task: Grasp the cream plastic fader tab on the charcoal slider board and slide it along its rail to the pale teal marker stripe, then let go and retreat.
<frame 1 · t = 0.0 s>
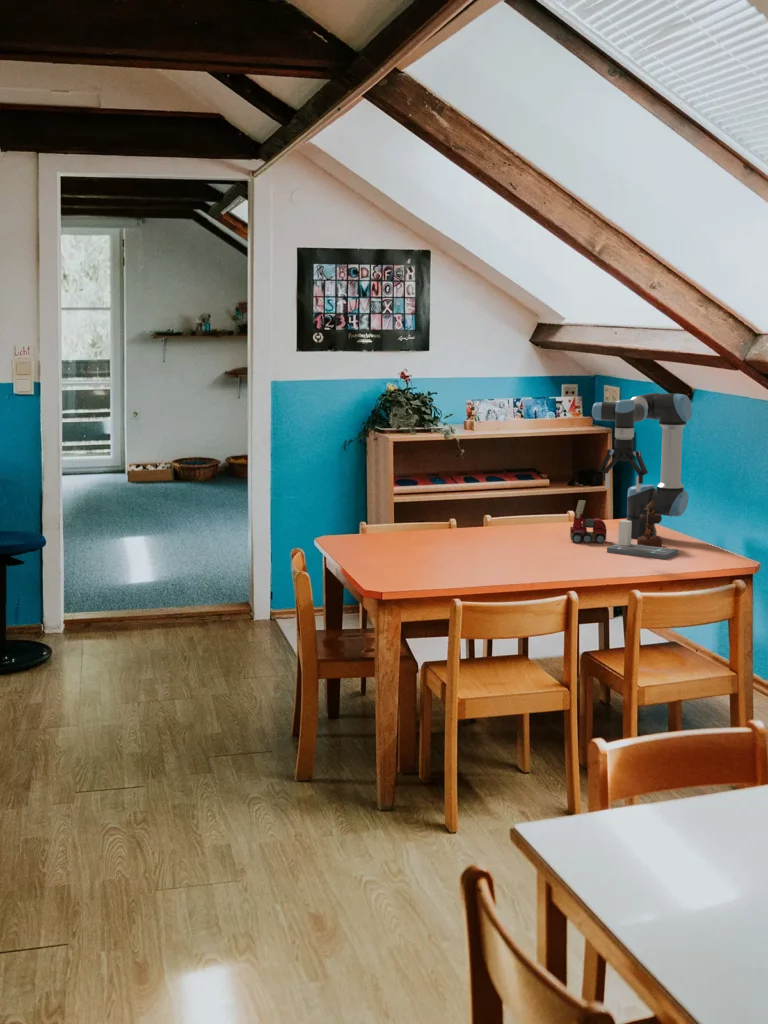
hand: (622, 490, 454), 28 cm above the table, fingers open, 13 cm apart
fader tab: (624, 533, 470), point 8 cm above the table, slide at 1.0 cm
slider board: (642, 553, 467), on the table
brown tall irregular piece: (649, 546, 483), on the table
toy fire truck: (587, 541, 495), on the table
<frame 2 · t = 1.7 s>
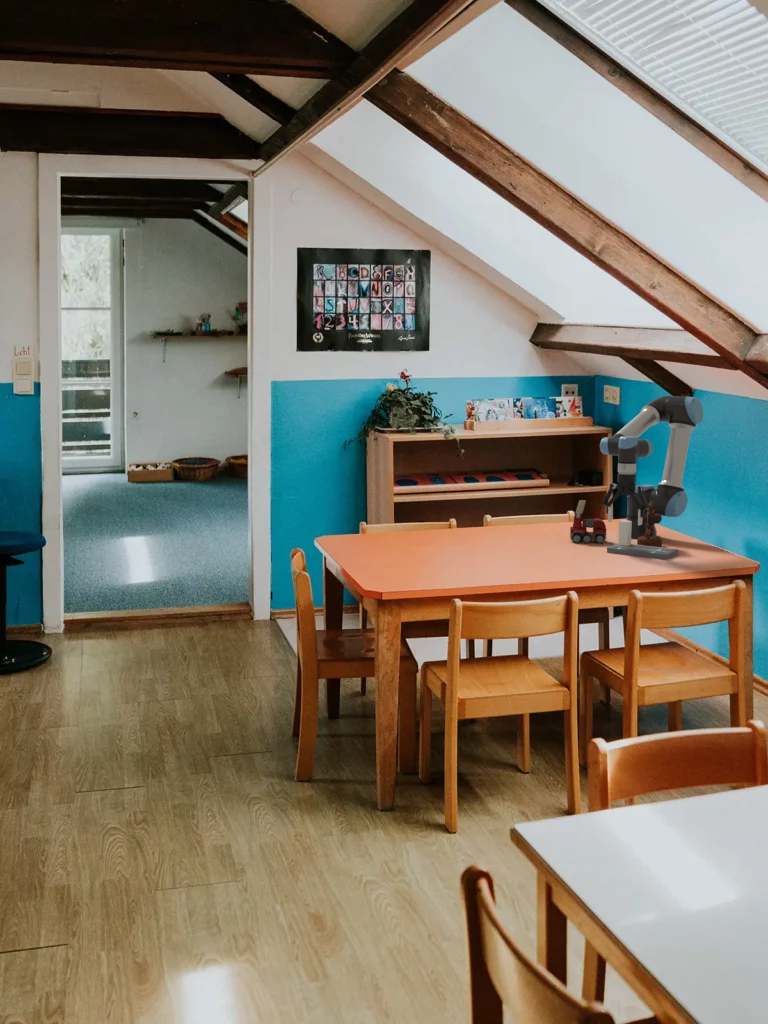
hand: (624, 523, 469), 12 cm above the table, fingers open, 13 cm apart
nothing on the table moved.
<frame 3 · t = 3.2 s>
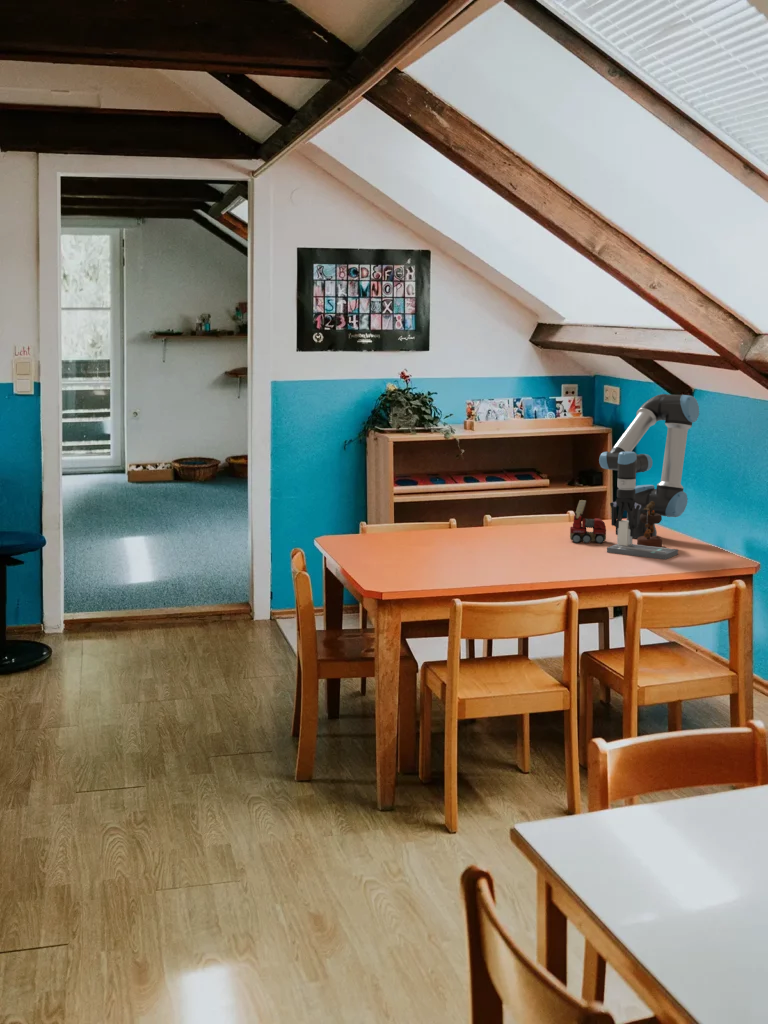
hand: (624, 543, 471), 3 cm above the table, fingers closed on fader tab, 4 cm apart
fader tab: (624, 533, 470), point 8 cm above the table, slide at 1.0 cm, touching gripper
everything else where it was.
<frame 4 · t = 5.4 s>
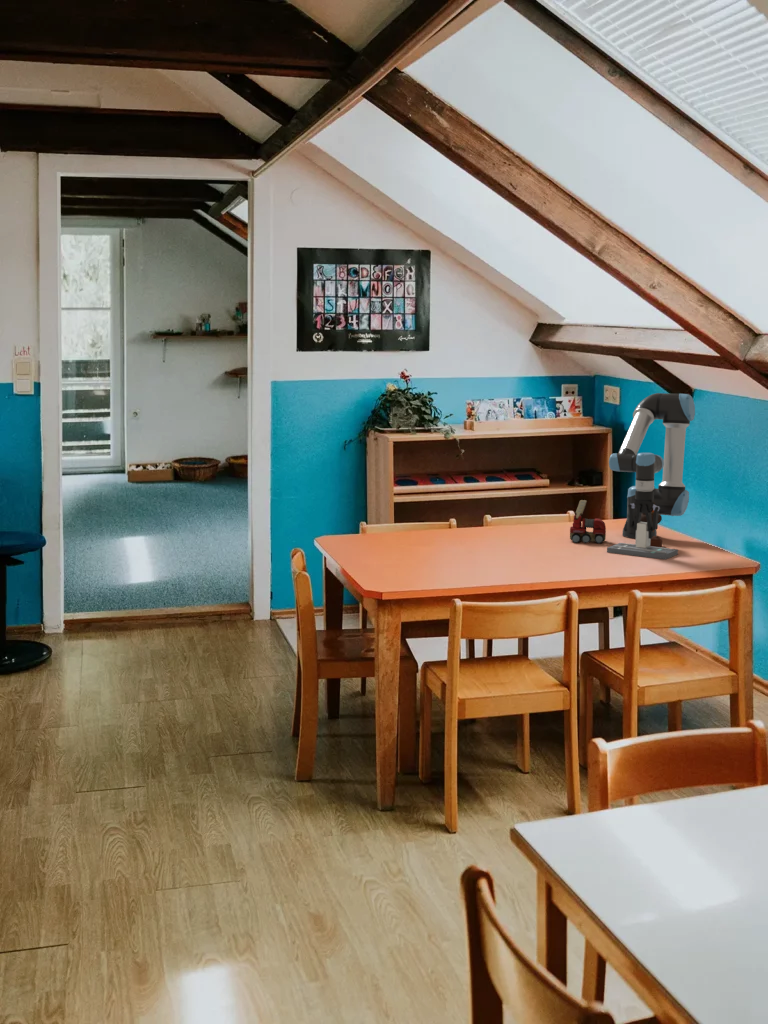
hand: (642, 545, 466), 3 cm above the table, fingers closed on fader tab, 4 cm apart
fader tab: (643, 535, 465), point 8 cm above the table, slide at 9.2 cm, touching gripper
everything else where it was.
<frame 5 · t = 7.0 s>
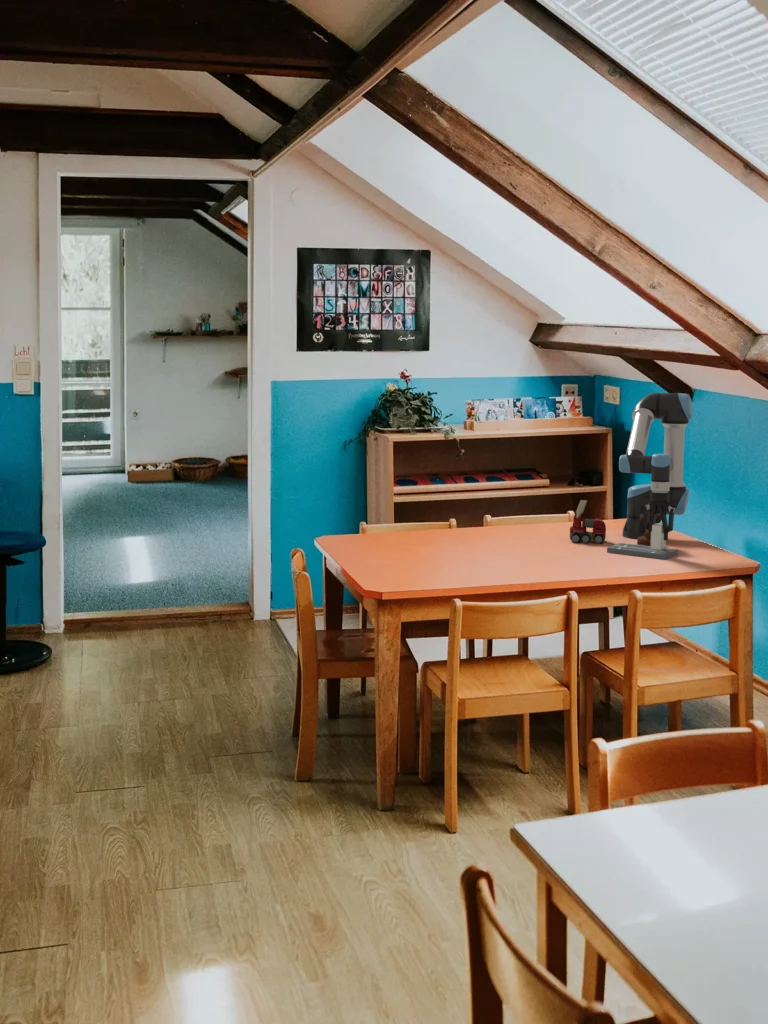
hand: (657, 547, 462), 3 cm above the table, fingers closed on fader tab, 4 cm apart
fader tab: (658, 537, 462), point 8 cm above the table, slide at 15.9 cm, touching gripper
everything else where it was.
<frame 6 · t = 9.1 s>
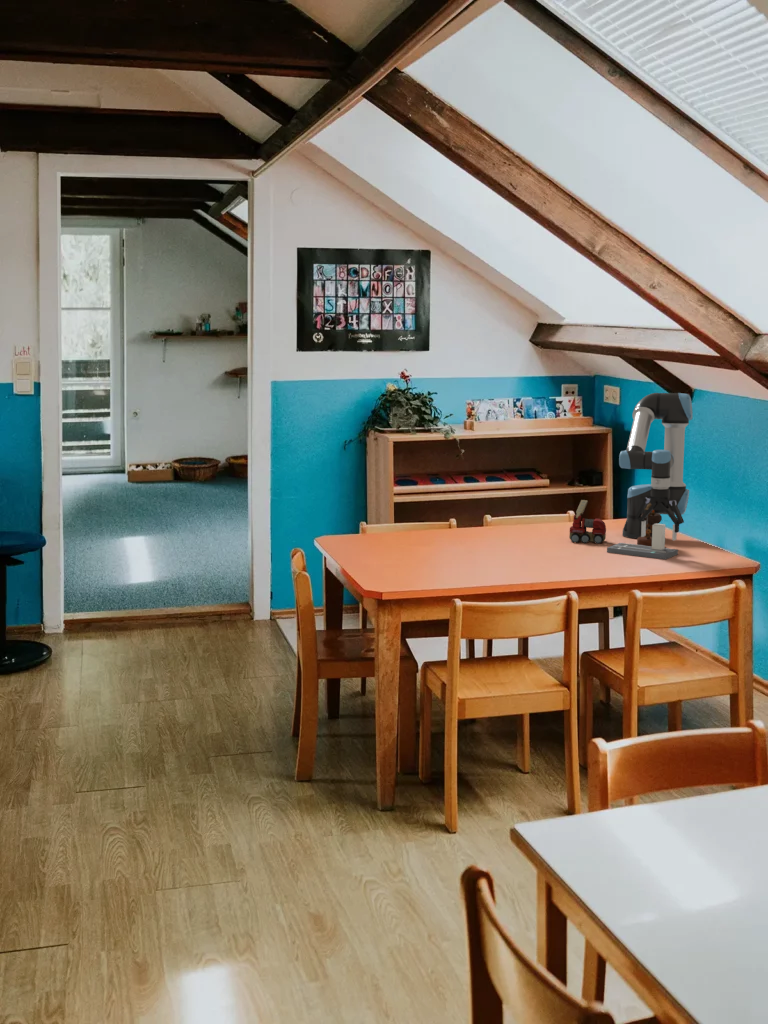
hand: (658, 538, 462), 7 cm above the table, fingers open, 13 cm apart
fader tab: (658, 537, 461), point 8 cm above the table, slide at 16.0 cm
everything else where it was.
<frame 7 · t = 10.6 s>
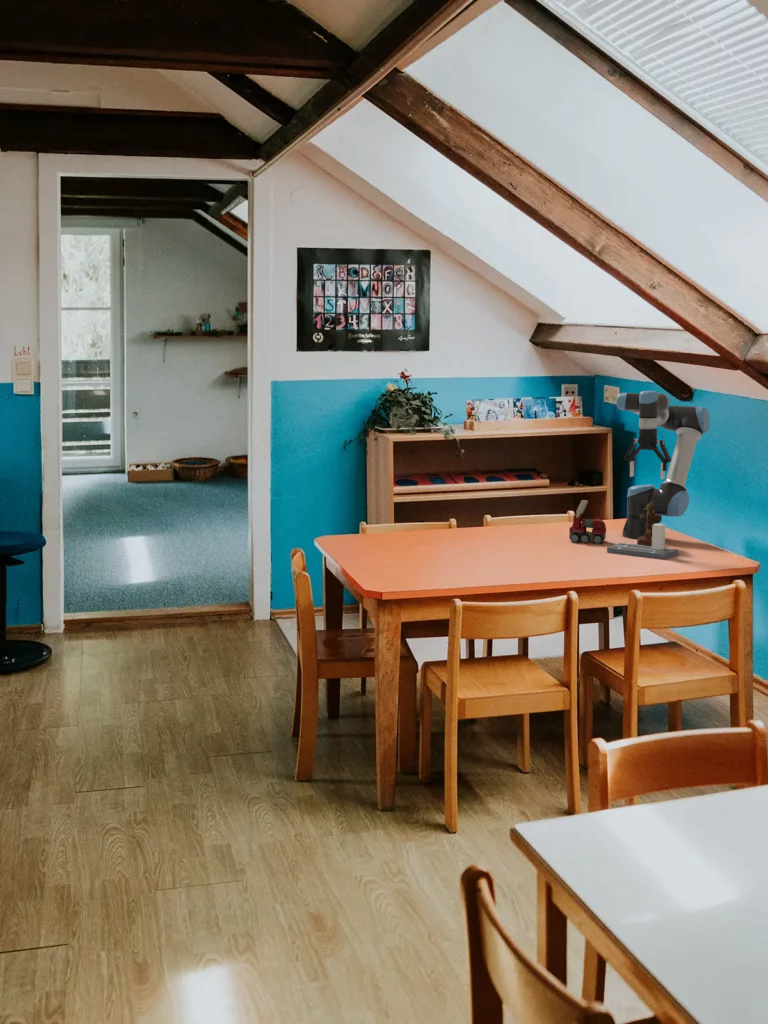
hand: (647, 477, 474), 30 cm above the table, fingers open, 13 cm apart
nothing on the table moved.
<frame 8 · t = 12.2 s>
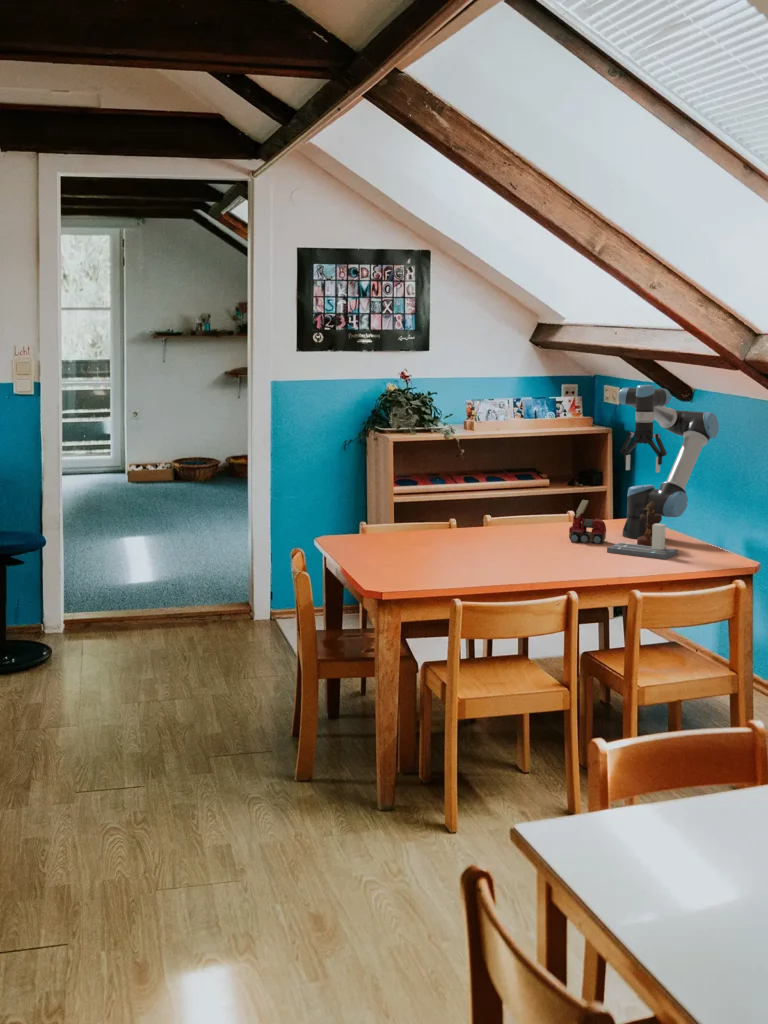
hand: (642, 471, 477), 33 cm above the table, fingers open, 13 cm apart
at the end: fader tab slide at 16.0 cm; the gripper is holding nothing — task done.
